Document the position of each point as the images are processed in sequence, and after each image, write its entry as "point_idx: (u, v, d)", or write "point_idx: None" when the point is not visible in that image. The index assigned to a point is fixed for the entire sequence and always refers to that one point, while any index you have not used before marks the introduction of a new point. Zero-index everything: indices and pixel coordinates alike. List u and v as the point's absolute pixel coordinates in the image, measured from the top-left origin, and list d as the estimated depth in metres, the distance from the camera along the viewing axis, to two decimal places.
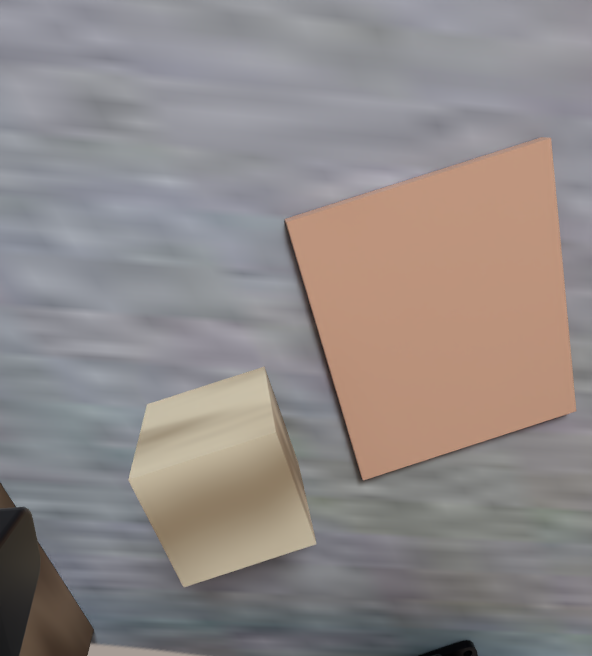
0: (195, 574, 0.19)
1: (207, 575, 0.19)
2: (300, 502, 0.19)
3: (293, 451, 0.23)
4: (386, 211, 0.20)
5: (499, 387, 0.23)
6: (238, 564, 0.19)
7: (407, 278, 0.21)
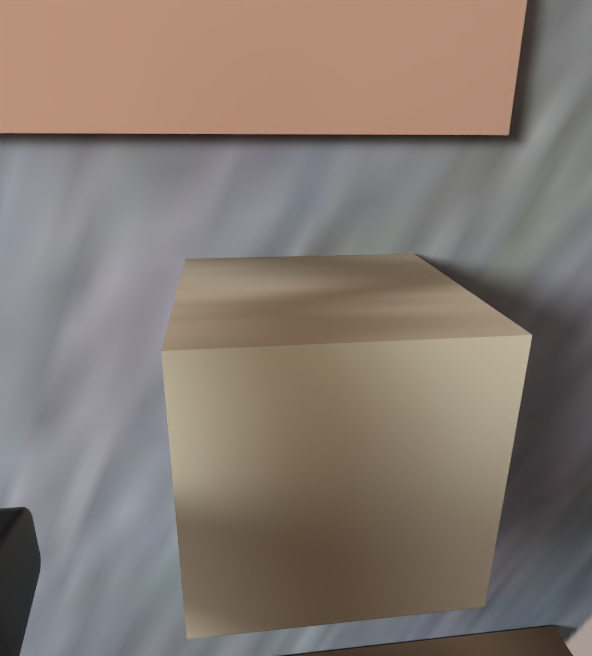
0: (466, 583, 0.09)
1: (481, 564, 0.09)
2: (392, 342, 0.07)
3: (378, 259, 0.11)
4: None
5: None
6: (488, 506, 0.08)
7: None
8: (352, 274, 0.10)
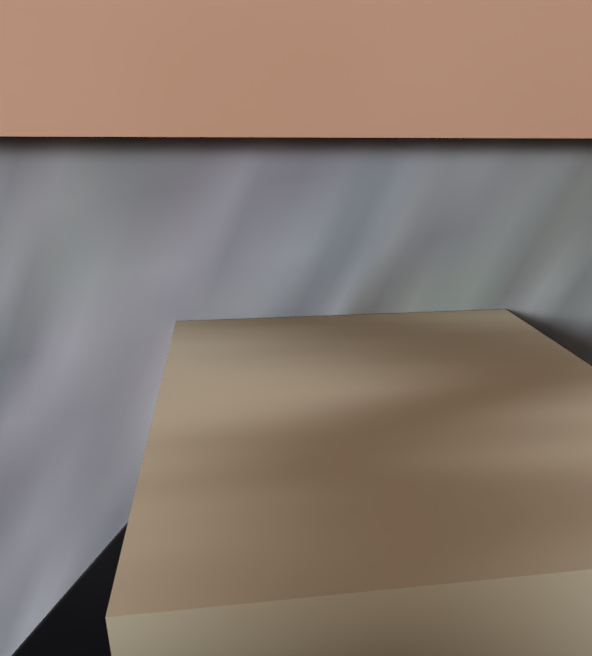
0: None
1: None
2: (588, 570, 0.04)
3: (460, 323, 0.08)
4: None
5: None
6: None
7: None
8: (434, 357, 0.07)
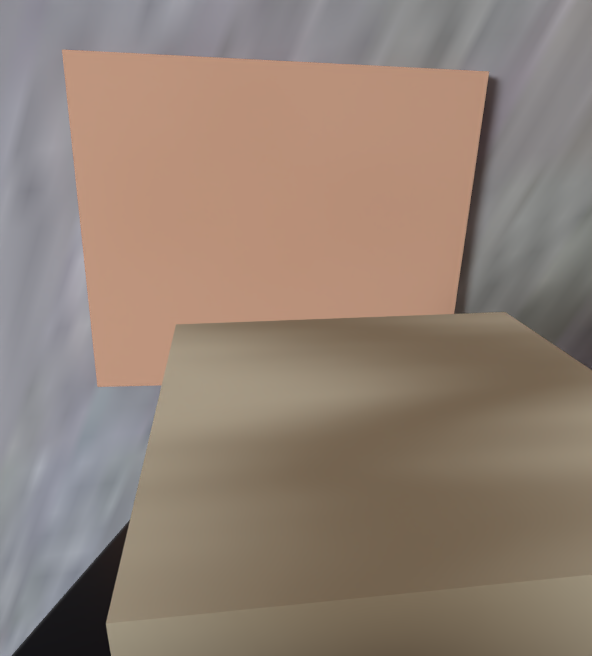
0: None
1: None
2: (586, 575, 0.04)
3: (460, 325, 0.08)
4: (110, 281, 0.17)
5: (396, 184, 0.17)
6: None
7: (201, 274, 0.17)
8: (434, 360, 0.07)
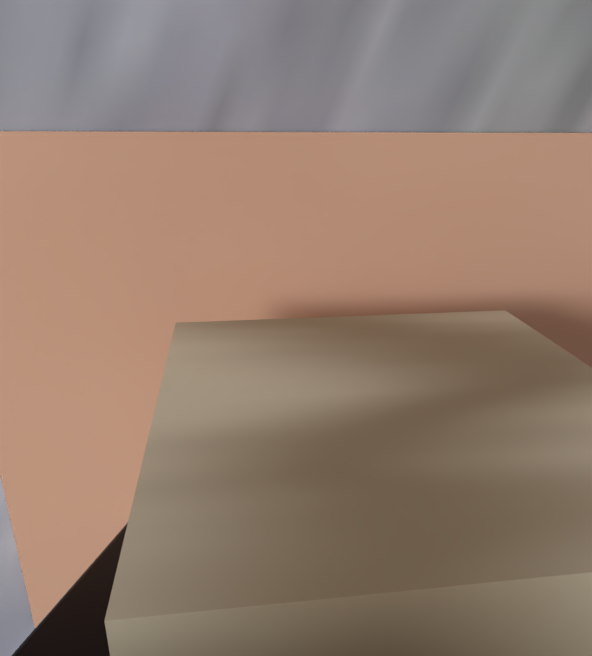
0: None
1: None
2: (587, 573, 0.04)
3: (460, 324, 0.08)
4: (45, 490, 0.10)
5: None
6: None
7: None
8: (434, 358, 0.07)
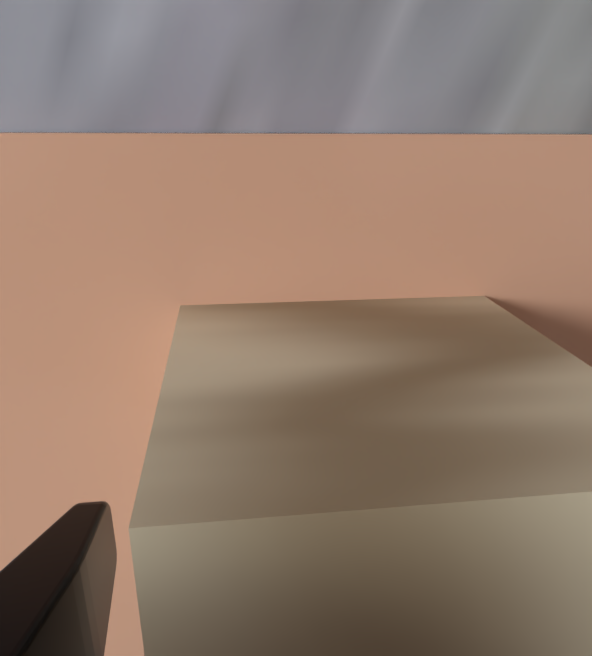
0: None
1: None
2: (529, 497, 0.04)
3: (441, 307, 0.08)
4: (32, 520, 0.09)
5: None
6: None
7: None
8: (415, 336, 0.07)
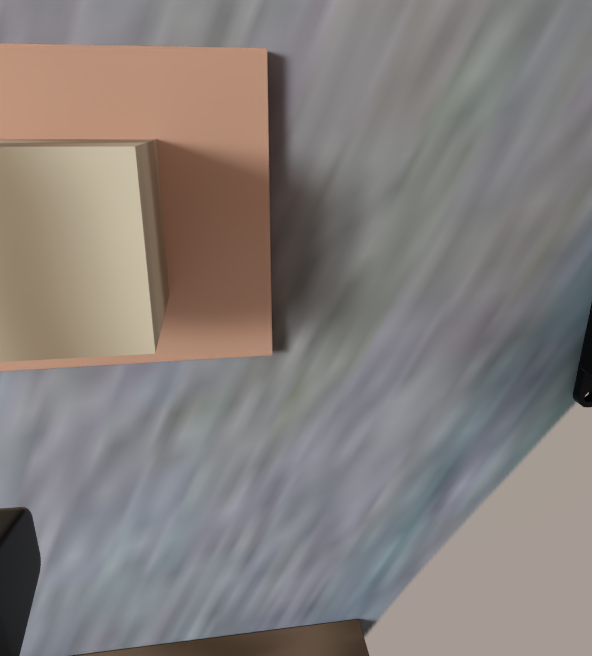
0: (136, 332, 0.13)
1: (144, 318, 0.13)
2: (41, 148, 0.12)
3: (121, 139, 0.16)
4: None
5: (191, 163, 0.17)
6: (137, 272, 0.13)
7: None
8: (84, 141, 0.15)
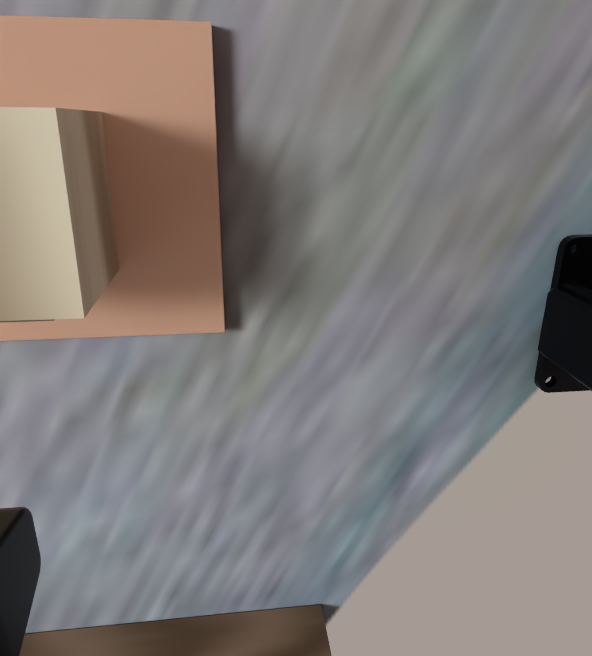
0: (64, 296, 0.14)
1: (71, 282, 0.13)
2: None
3: None
4: None
5: (137, 136, 0.17)
6: (63, 235, 0.13)
7: None
8: None
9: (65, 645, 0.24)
